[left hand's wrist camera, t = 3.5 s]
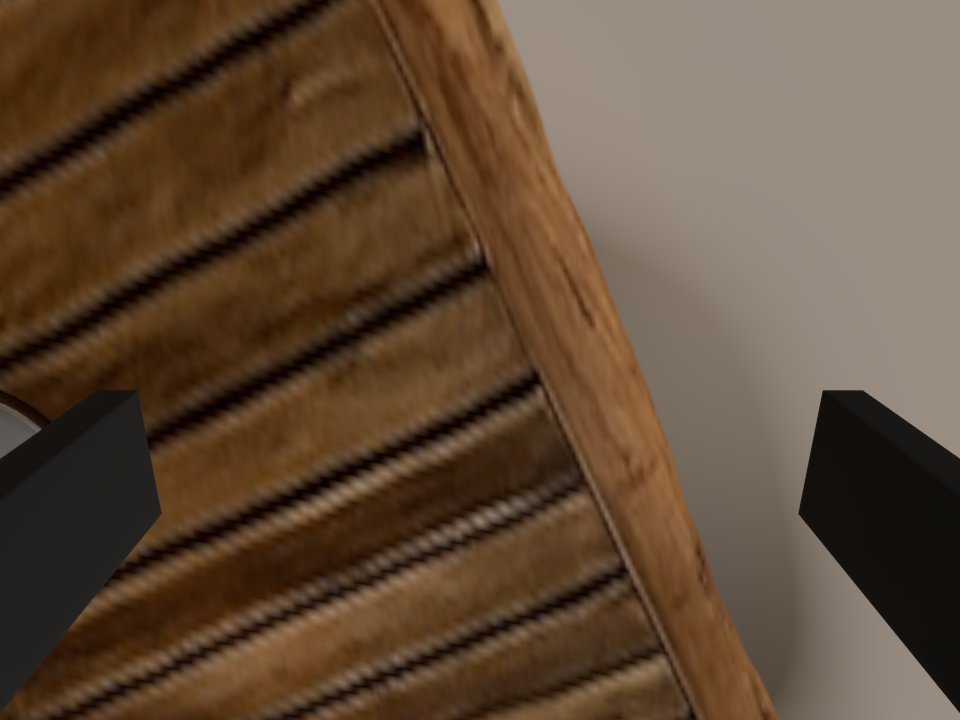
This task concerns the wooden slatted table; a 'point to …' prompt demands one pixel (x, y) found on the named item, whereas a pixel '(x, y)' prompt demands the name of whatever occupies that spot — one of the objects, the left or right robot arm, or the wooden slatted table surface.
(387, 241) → the wooden slatted table surface
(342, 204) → the wooden slatted table surface
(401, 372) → the wooden slatted table surface
